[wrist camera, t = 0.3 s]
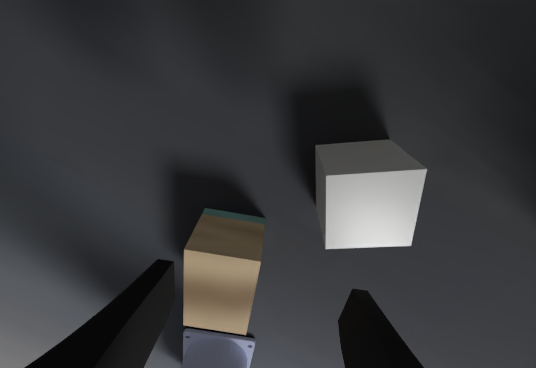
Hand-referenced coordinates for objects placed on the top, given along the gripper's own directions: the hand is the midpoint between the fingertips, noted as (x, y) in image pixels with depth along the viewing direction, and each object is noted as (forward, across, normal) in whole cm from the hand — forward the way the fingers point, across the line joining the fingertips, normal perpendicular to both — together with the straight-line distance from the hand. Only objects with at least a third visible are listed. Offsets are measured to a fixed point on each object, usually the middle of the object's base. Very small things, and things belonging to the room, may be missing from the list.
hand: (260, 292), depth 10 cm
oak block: (+10, +2, +7) cm, 13 cm away
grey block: (+10, -6, -2) cm, 12 cm away
